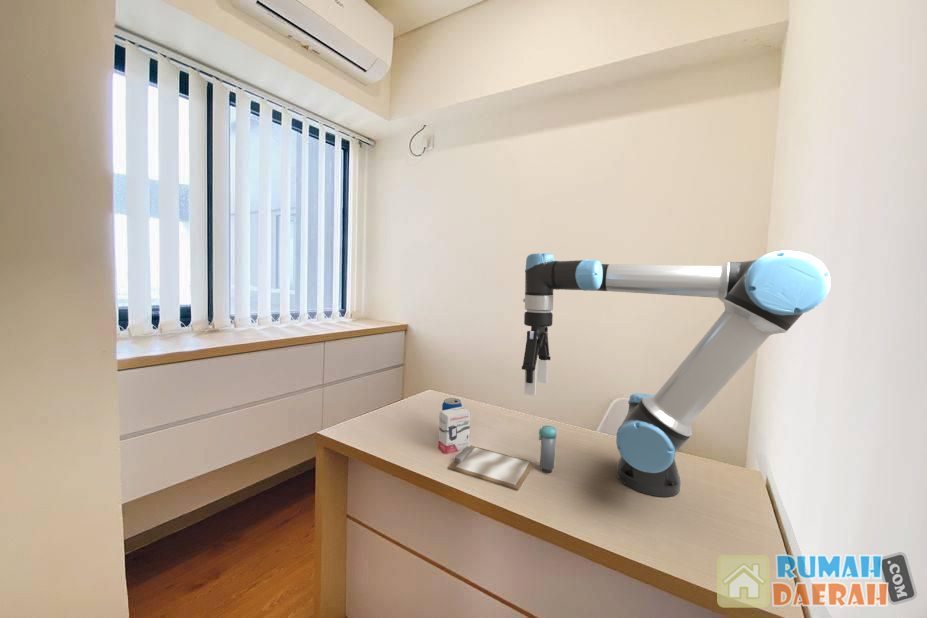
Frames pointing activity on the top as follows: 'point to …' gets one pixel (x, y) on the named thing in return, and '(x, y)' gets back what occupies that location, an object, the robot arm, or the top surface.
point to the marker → (547, 447)
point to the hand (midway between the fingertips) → (536, 388)
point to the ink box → (454, 429)
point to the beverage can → (451, 403)
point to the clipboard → (492, 466)
